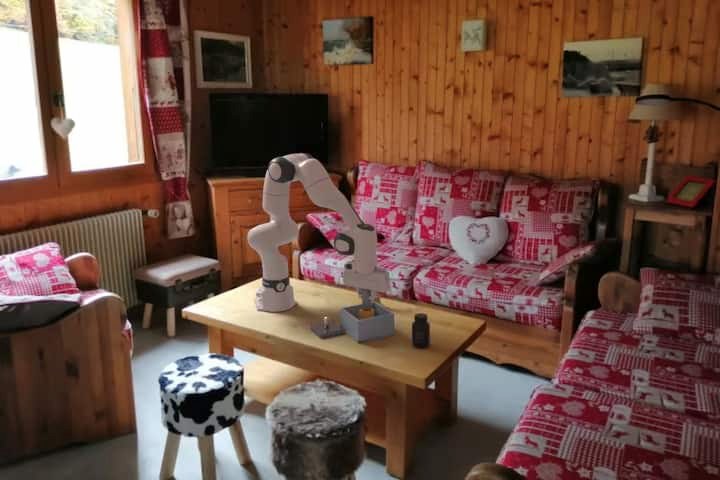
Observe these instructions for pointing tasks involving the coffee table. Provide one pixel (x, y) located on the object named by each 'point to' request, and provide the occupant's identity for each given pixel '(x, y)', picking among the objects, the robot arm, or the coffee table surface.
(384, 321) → the bin
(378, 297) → the hand bell
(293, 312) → the coffee table surface
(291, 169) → the robot arm
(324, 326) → the ball stud base
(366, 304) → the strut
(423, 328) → the supplement bottle
